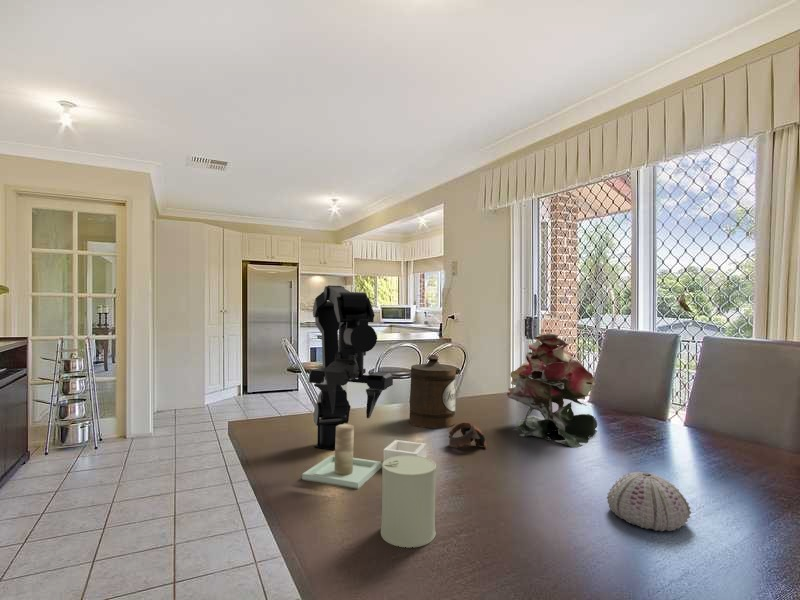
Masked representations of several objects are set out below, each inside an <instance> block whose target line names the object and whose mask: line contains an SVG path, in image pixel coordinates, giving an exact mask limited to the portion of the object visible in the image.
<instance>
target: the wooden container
mask: <svg viewBox="0 0 800 600" xmlns="http://www.w3.org/2000/svg"><path fill="white" fill-rule="evenodd" d="M427 359H428V360H429V361H428V362H427V363H419V364H413V365H411V367H410V387H409V388H410V391H409V392H410V393H409V423H410V424H412V425H413V426H415V425H416V426H415V427H420V428H424V427H425V429H445V428H449V427H452V426H453V425H454V426H455V423H456V375H457V374H456V373H457V369H456V367H455V366H453V365H449V364H443V363H442V364H441V363H439V361H438V360H439V356H438V355H436V354H431V355H428V357H427Z"/></svg>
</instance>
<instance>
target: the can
mask: <svg viewBox="0 0 800 600" xmlns="http://www.w3.org/2000/svg"><path fill="white" fill-rule="evenodd" d="M381 471H382V478H381V479H382V481H381V482H382V483H381V486H382V487H381V489H382V492H381V493H382V495H381V497H382V499H381V528H380V536H381V538H382V539H383V540H384V541H385V542H386V543H388V544H389V545H391V546H395V547H398V546H399V547H400V548H405V547H406V549H407V548H408V549H411V548H412V547H413V548H420V547H423V546H426V545H428V544H430V543H431V542H433V541H434V539H435V537H436V534H437V533H436V527H435V525H436V523H435V521H436V519H435V518H436V474H437V473H436V472H437V464H436V462H435V461H433V460H432V459H430V458H424V457H420V456H411V455H403V456H395V457H391V458H388V459H386V460H385V461H384V462H383V461H382V468H381Z"/></svg>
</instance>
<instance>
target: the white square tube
mask: <svg viewBox="0 0 800 600" xmlns="http://www.w3.org/2000/svg"><path fill="white" fill-rule="evenodd" d="M427 444H428V443H422V442H417V441H416V442H415V441H408V440H402V439H401V440H400V439H399V440H398V439H394V440H393V441H392V442H390V444H388V445H387V446H386V447H385V448H384V449H383V450H382V451H383V459H382V460H383V461H382V463H383V462H384V461H385V460H386V459H388V458H391V457H395V456H403V455H411V456H420V457H424V458H427V456H428V455H427V449H428V445H427Z"/></svg>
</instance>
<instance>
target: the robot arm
mask: <svg viewBox="0 0 800 600" xmlns="http://www.w3.org/2000/svg"><path fill="white" fill-rule="evenodd" d="M312 315H313V318H314V323H315V326H316V328H317V329H318V330H319V332H320V333H321V353H322V359H321V360H322V367H318V368H314V369H311V370H310V372H309V374H308V383H309V384H313V386H314V387H316V388H317V389H319V391H320V392H319V393H318V395H317V402H316V403H315V406H314V411H313V422H314V424H315V426H317V436H316V437H317V439H316V444H314V445H313V446H314V448H318V449H325V450H332V451H335V439H336V426H337V425H341V424H348V423H349V421H350V411H351V408H352V407H351V405H350V402H349V400H348V394H347V391H346V389H344V388H343V387H342V386H345V385H347V384H348V383H357V384H366V385H367V387H368V388H366V389H365V393H366V395H367V396H366V397H367V399H366V411H365V413H366V419H370V418H371V416H372V414H373V412H374V409H375V407H376V405H377V401H379V400H378V399H379V397H380V396H381V394H382V392H383V391H385V390H387V389H388V388H389V387H392V386H393V385H394V378H393V375H392V374H391V372H382V371H375V372H373V373H370V374H366V368H364V357H365V356H366V355H367V352H370V351H372V350H373V348H375V346H376V345H377V342H378V335H377V332H376V331H375V329H374V328H373V327H372V326H371V325H369V323H374V321H375V320H374V318H375V312H374V308H373V306H372V303H371V300H370V297H368V295H367V293H366V292H364V291H363V292H361V291H360V292H357V291H356V292H355V291H350V290H348V289H346V287H345V286H342V285H332V284H331V285H325V286H324V289H323V291H322V292H321V293H320V294H319V295H317V296H316V297H315V299H314V302H313V307H312Z"/></svg>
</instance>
